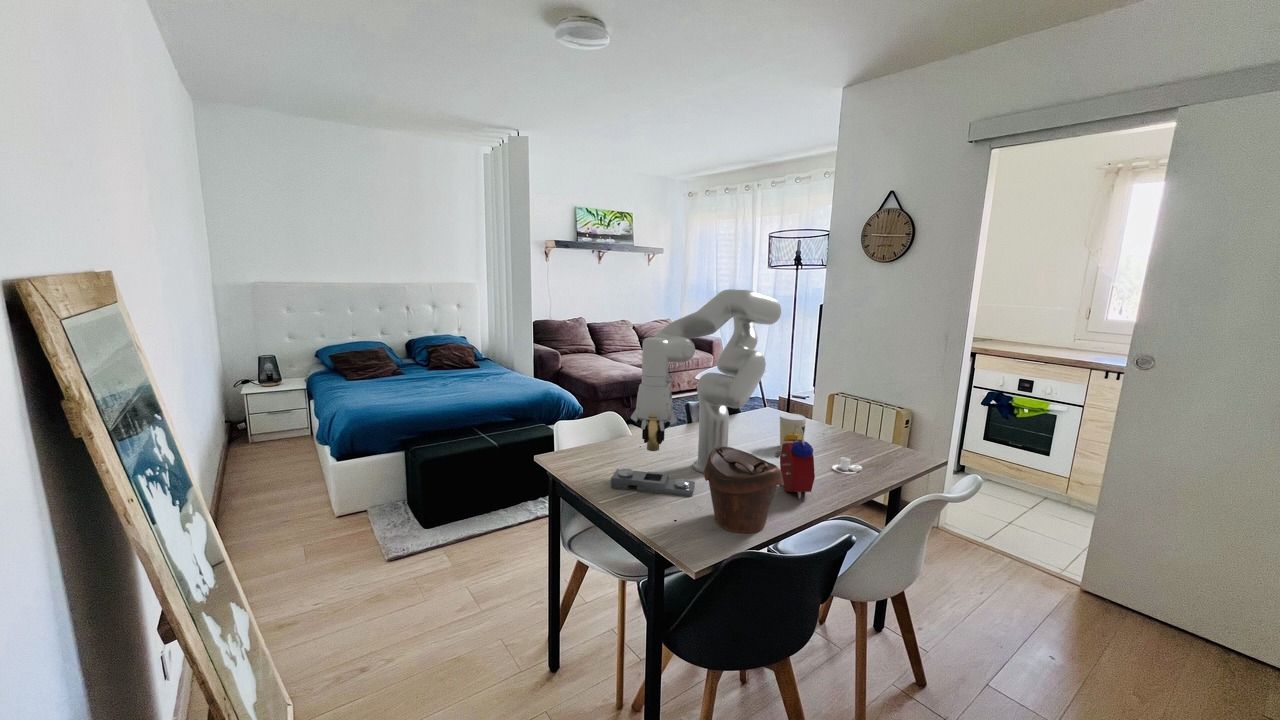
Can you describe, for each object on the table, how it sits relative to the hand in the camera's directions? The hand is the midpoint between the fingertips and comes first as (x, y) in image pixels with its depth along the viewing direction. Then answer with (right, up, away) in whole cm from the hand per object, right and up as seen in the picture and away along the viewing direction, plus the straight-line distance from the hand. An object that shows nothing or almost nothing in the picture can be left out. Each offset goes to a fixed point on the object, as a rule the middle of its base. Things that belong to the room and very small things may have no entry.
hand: (653, 441), depth 149 cm
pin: (0, -2, 0) cm, 2 cm away
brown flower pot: (+22, -18, -18) cm, 34 cm away
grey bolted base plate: (0, -14, +2) cm, 14 cm away
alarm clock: (+41, -15, +1) cm, 43 cm away
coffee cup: (+52, -9, +39) cm, 66 cm away
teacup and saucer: (+64, -13, +16) cm, 68 cm away
